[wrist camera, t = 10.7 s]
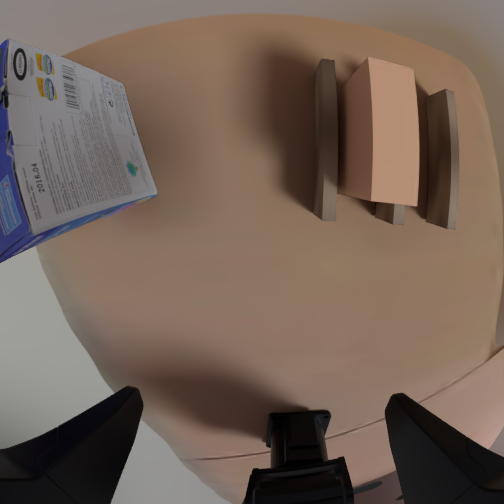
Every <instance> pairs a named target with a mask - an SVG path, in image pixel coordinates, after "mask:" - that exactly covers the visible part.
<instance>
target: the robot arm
mask: <svg viewBox="0 0 504 504" xmlns="http://www.w3.org/2000/svg"><path fill="white" fill-rule="evenodd" d="M142 411H143V401H142V398H141V395H140V392H139V389H138V388H136V387H132V386H126V387H124V388H123V389H121V390H119V391H118V392H116V393H115V394H113V395H111V396H110V397H108V398H107V399H105V400H103V401H101V402H100V403H98V404H96V405H95V406H93V407H91V408H89V409H88V410H86V411H84V412H83V413H81V414H79V415H77V416H75V417H74V418H72V419H70V420H68V421H67V422H65V423H63V424H61V425H59V426H58V427H56V428H54V429H52V430H50V431H48V432H46V433H44V434H42V435H40V436H38V437H36V438H33V439H31V440H28V441H26V442H23V443H20V444H17V445H15V446H12V447H9V448H5V449H0V504H110V503H111V500H112V498H113V495H114V492H115V490H116V487H117V485H118V482H119V479H120V477H121V474H122V471H123V469H124V466H125V464H126V461H127V459H128V456H129V454H130V451H131V449H132V446H133V443H134V440H135V437H136V433H137V430H138V425H139V422H140V418H141V415H142ZM330 418H331V413H330V412H328V411H326V412H308V413H271V414H269V418H268V429H267V440H266V446H267V447H269V448H271V468H267V469H259V468H253V470H252V475H250V478H249V483H248V487H247V492H246V496H245V498H244V501H243V503H242V504H354V494H353V488H352V483H351V480H350V476H349V472H348V469H347V465H346V462H345V459H344V456H343V457H338V458H337V459H332V460H328V455H327V449H326V443H325V437H324V436H325V433H326V430H327V427H328V424H329V421H330ZM385 418H386V424H387V430H388V436H389V442H390V447H391V451H392V455H393V459H394V462H395V466H396V470H397V474H398V478H399V482H400V486H401V490H402V494H403V499H404V502H405V504H504V457H502V456H500V455H498V454H496V453H494V452H492V451H490V450H488V449H486V448H484V447H482V446H481V445H479V444H478V443H476V442H474V441H473V440H471V439H470V438H468V437H467V438H466V436H465V435H464V434H462V433H461V432H459V431H458V430H456V429H455V428H453V427H452V426H450V425H449V424H447V423H446V422H444V421H443V420H441V419H440V418H438V417H437V416H436V415H434V414H433V413H431V412H430V411H428V410H427V409H425V408H424V407H423V406H421V405H420V404H418V403H417V402H415V401H414V400H412V399H411V398H410V397H408V396H407V395H405V394H404V393H397V394H393V395H392V396H391V397H390V400H389V402H388V404H387V406H386V409H385Z"/></svg>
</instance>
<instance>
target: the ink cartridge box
mask: <svg viewBox="0 0 504 504" xmlns="http://www.w3.org/2000/svg"><path fill="white" fill-rule="evenodd" d="M156 195H157V189H156V186H155V184H154V181H153V178H152V175H151V172H150V169H149V167H148V164H147V161H146V158H145V155H144V152H143V149H142V146H141V143H140V139H139V136H138V133H137V130H136V127H135V123H134V120H133V117H132V114H131V110H130V107H129V103H128V100H127V96H126V93H125V89H124V86H123V84H122V83H120V82H118V81H116V80H114V79H112V78H110V77H107V76H105V75H103V74H101V73H99V72H96V71H94V70H92V69H90V68H87V67H85V66H83V65H80V64H78V63H76V62H73V61H71V60H69V59H66V58H63V57H61V56H58V55H55V54H53V53H50V52H47V51H44V50H42V49H39V48H36V47H33V46H30V45H27V44H24V43H21V42H18V41H15V40H12V39H7V40H5V41H4V42H3V43H2V44H1V45H0V263H1V262H3V261H5V260H7V259H9V258H11V257H13V256H15V255H17V254H19V253H21V252H23V251H25V250H28V249H30V248H32V247H34V246H36V245H38V244H40V243H42V242H45V241H47V240H49V239H51V238H54V237H56V236H58V235H61V234H63V233H65V232H67V231H70V230H72V229H74V228H77V227H79V226H82V225H84V224H86V223H88V222H91V221H94V220H96V219H99V218H102V217H106V216H110V215H113V214H116V213H118V212H120V211H123V210H125V209H127V208H130V207H132V206H134V205H137V204H139V203H141V202H144V201H146V200H148V199H150V198H152V197H154V196H156Z"/></svg>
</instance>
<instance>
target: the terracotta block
mask: <svg viewBox="0 0 504 504" xmlns="http://www.w3.org/2000/svg"><path fill="white" fill-rule="evenodd" d="M337 116H338V177H337V194H341V195H346V196H350V197H355V198H360V199H364V200H368V201H375V202H384V203H394V204H402V205H410V206H417V201H418V185H419V123H418V107H417V96H416V87H415V79H414V72H413V69H411V68H408V67H404V66H401V65H398V64H394V63H391V62H387V61H383V60H379V59H375V58H370V57H367V59H366V60H365V61H364V62H363V63H362V64H361V66H360V67H359V68H358V69H357V70H356V71H355V73H354V74H353V75H352V76H351V77H350V79H349V80H348V81H347V82H346V83H345V84H344V86H343V87H342V88H341V89H340V90H339V92H338V93H337Z"/></svg>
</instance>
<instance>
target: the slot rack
mask: <svg viewBox="0 0 504 504" xmlns="http://www.w3.org/2000/svg"><path fill="white" fill-rule="evenodd" d="M314 80H315V189H314V215H315V216H317V217H318V218H319V219H321V220H322V221H336V203H337V177H338V116H337V91H336V74H335V61H334V60H328V59H321V61H320V63H319V65H318V67H317V70H316V72H315V74H314ZM426 108H427V120H428V137H429V184H428V202H427V215H426V222H428V223H431V224H434V225H437V226H440V227H443V228H446V229H453V230H455V226H456V217H457V206H458V190H459V140H458V125H457V114H456V105H455V97H454V92H453V91H450V90H448V89H444V90H442V91H439V92H437V93H435V94H432V95H430V96H428V97H426ZM404 216H405V205H402V204H394V203H384V202H376V214H375V218H378V219H380V220H383V221H385V222H388V223H390V224H393V225H404Z"/></svg>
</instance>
